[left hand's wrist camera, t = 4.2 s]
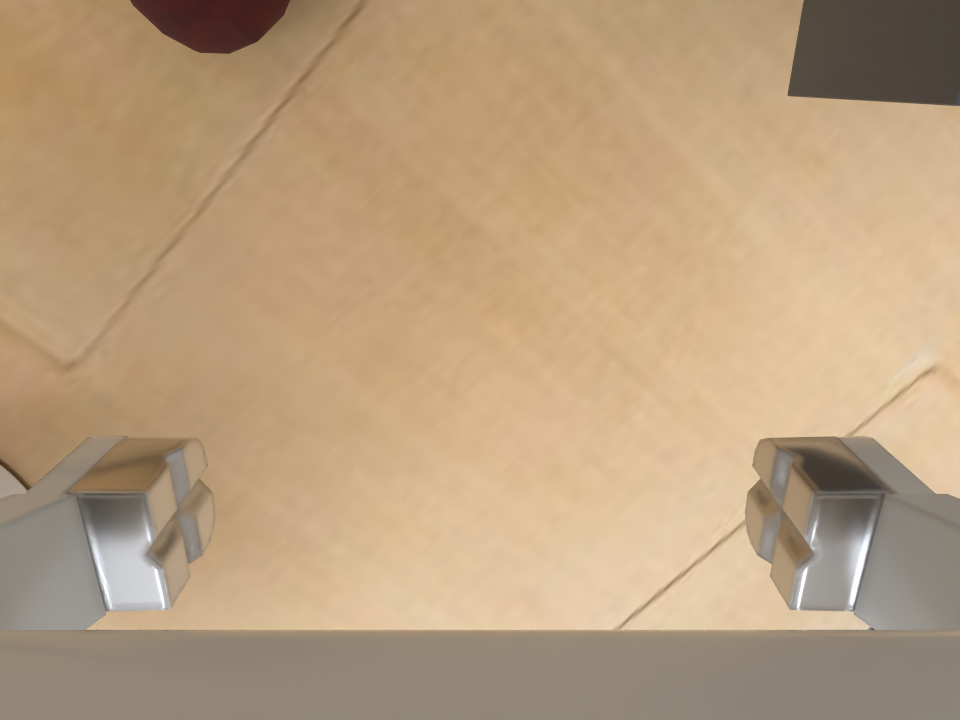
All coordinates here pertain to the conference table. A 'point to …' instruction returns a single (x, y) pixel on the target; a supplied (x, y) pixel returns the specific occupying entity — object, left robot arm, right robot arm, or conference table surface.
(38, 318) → the conference table surface
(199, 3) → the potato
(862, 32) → the bar
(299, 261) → the conference table surface
